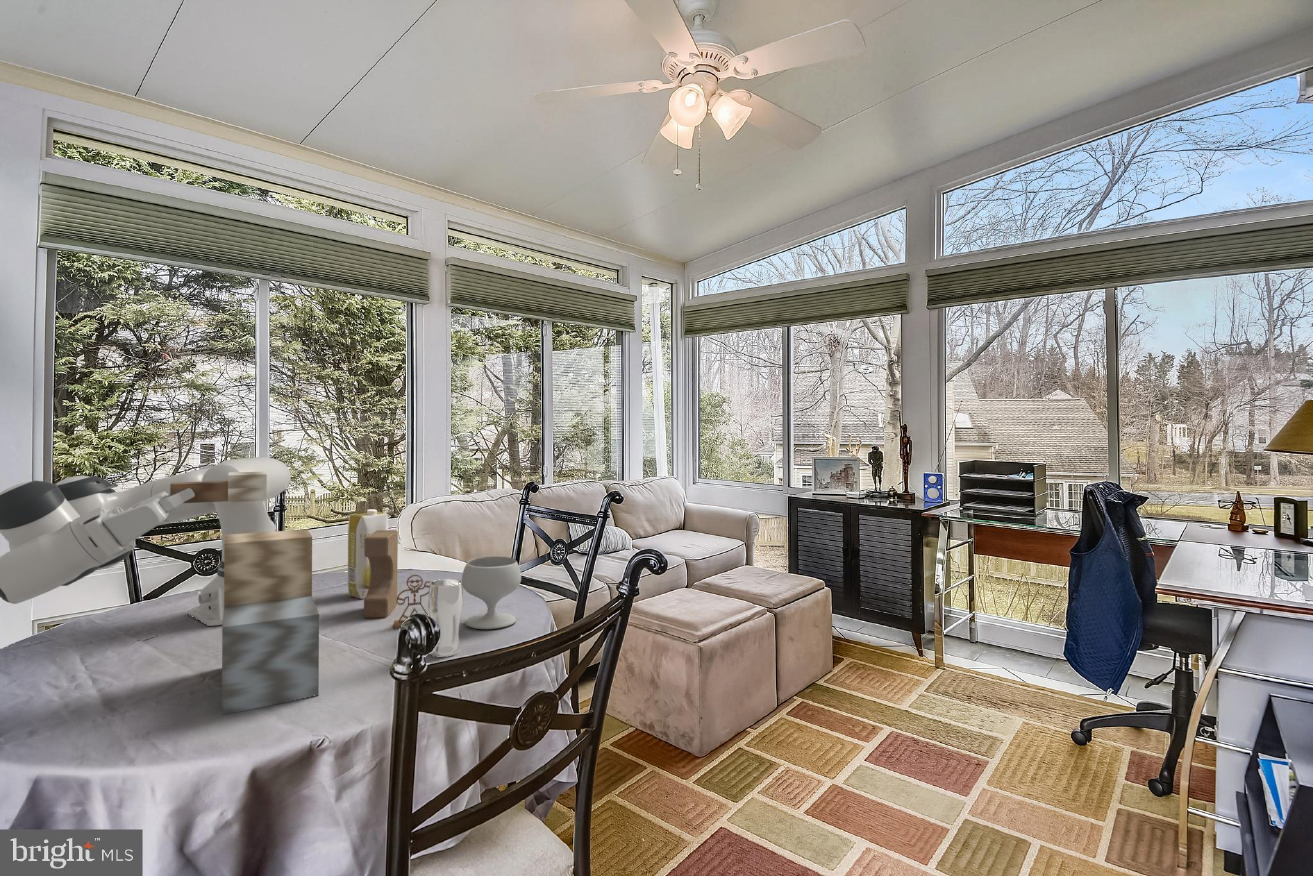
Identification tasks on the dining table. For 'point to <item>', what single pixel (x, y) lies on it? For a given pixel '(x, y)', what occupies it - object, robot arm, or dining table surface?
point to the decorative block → (381, 573)
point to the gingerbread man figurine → (399, 622)
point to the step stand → (268, 620)
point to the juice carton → (361, 549)
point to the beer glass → (446, 613)
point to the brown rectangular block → (227, 488)
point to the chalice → (491, 588)
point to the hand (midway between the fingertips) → (194, 489)
